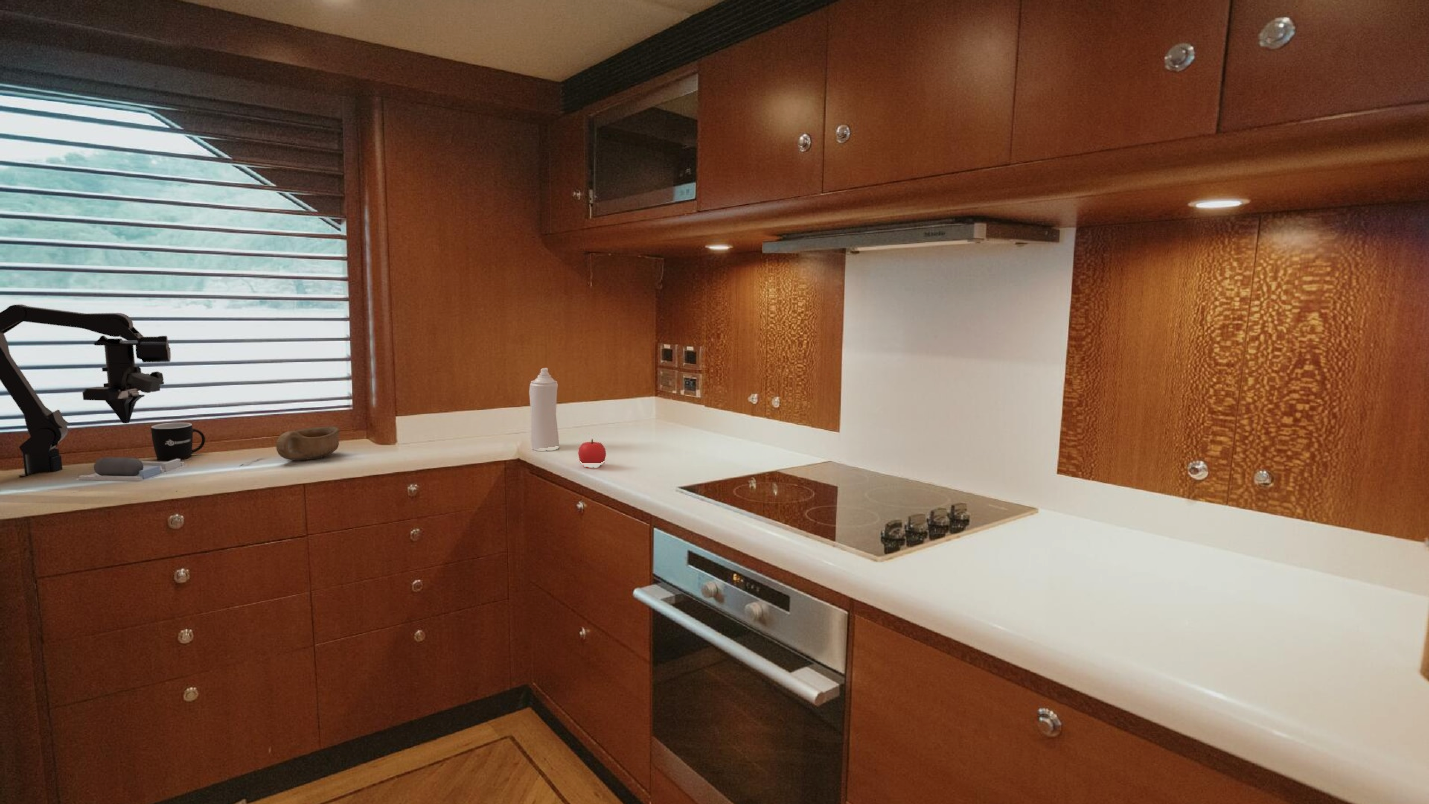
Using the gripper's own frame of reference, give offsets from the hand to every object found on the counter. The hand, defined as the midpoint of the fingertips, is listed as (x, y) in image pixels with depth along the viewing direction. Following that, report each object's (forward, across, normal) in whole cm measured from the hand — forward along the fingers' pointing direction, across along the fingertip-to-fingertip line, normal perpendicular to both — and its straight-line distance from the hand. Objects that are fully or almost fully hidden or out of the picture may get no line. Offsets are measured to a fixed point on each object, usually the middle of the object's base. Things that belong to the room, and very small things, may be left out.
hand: (126, 423), depth 189 cm
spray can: (+12, +37, -100) cm, 107 cm away
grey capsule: (+11, -12, -6) cm, 17 cm away
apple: (+12, +13, -118) cm, 119 cm away
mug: (+12, +9, -7) cm, 17 cm away
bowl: (+12, +15, -38) cm, 43 cm away
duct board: (+12, -8, -7) cm, 16 cm away
